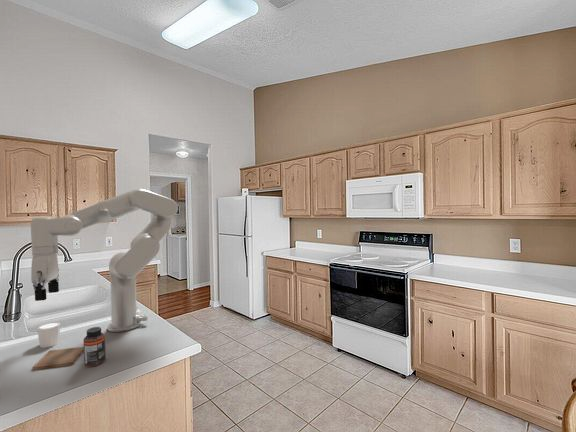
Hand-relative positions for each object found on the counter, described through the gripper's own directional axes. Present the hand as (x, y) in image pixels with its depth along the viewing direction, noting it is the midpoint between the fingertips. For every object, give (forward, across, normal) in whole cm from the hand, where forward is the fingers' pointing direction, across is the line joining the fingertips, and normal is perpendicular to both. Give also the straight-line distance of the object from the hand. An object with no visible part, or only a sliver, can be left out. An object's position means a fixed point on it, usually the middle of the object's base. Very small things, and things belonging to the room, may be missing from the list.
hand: (47, 296), depth 111 cm
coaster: (+18, +14, +9) cm, 24 cm away
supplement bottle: (+19, +20, +21) cm, 34 cm away
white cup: (+18, 0, 0) cm, 18 cm away
